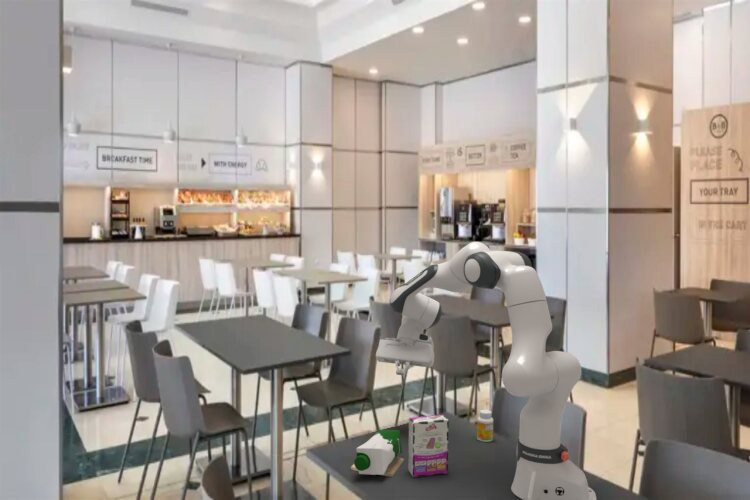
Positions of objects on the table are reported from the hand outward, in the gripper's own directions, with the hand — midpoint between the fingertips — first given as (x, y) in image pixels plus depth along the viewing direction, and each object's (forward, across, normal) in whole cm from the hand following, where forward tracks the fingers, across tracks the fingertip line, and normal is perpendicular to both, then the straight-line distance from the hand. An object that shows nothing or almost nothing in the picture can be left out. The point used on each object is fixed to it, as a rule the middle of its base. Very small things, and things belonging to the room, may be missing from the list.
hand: (400, 374), depth 203 cm
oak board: (+32, 0, 0) cm, 32 cm away
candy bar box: (+31, +16, 0) cm, 35 cm away
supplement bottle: (+8, +28, +24) cm, 37 cm away
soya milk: (+22, +2, +2) cm, 23 cm away
